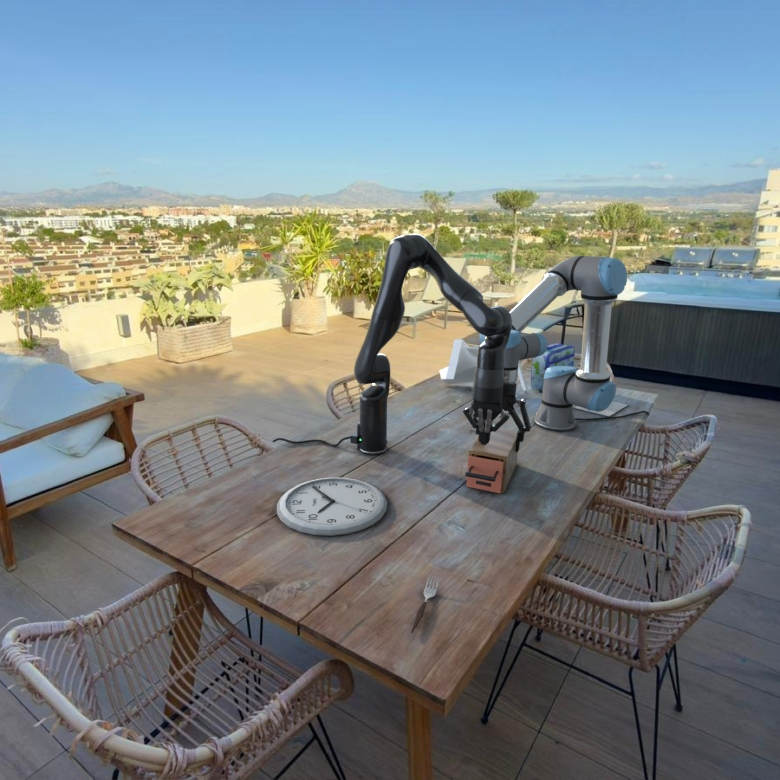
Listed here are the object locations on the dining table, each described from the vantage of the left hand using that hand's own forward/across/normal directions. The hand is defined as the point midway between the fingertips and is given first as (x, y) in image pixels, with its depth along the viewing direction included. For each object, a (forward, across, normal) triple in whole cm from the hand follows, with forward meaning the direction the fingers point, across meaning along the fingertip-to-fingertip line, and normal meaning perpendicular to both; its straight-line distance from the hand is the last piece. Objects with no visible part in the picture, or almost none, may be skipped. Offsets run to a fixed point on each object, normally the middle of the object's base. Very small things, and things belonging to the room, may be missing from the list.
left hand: (484, 443), depth 143 cm
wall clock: (+17, -36, -21) cm, 45 cm away
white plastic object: (+17, -24, +98) cm, 102 cm away
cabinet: (+17, 0, +17) cm, 24 cm away
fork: (+17, 0, -49) cm, 52 cm away
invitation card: (+17, +29, +101) cm, 106 cm away
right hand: (+10, 0, +23) cm, 25 cm away
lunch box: (+17, +6, +120) cm, 122 cm away
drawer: (+16, 0, +10) cm, 19 cm away
